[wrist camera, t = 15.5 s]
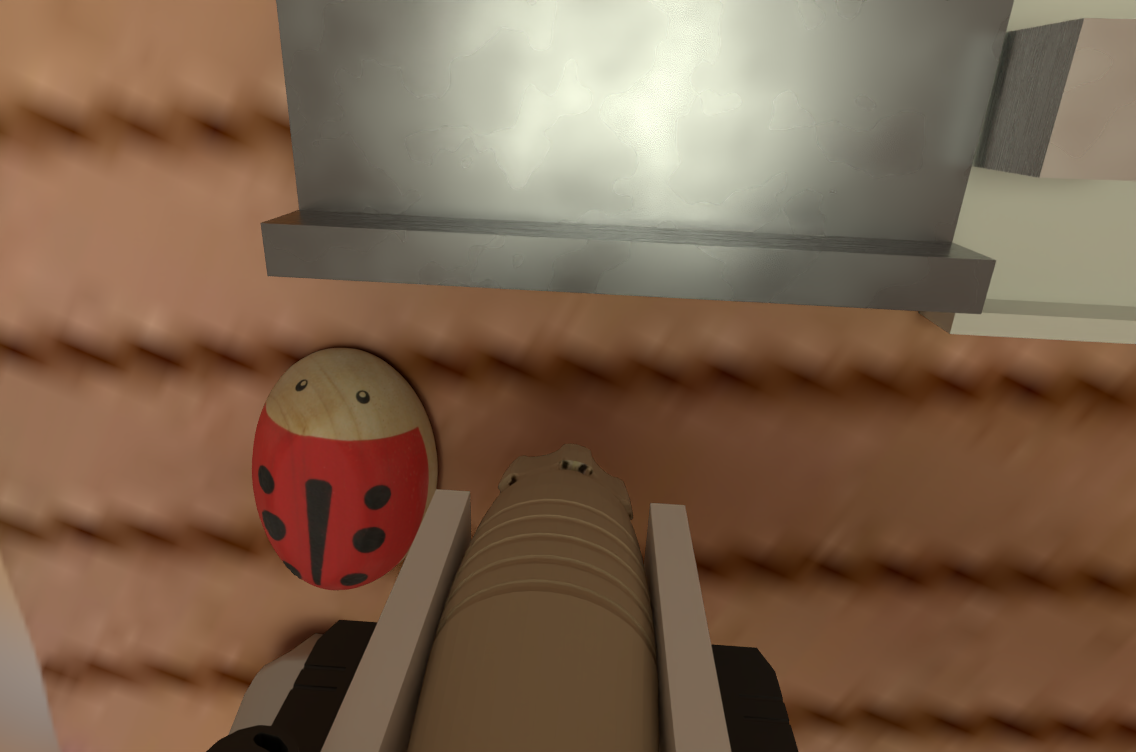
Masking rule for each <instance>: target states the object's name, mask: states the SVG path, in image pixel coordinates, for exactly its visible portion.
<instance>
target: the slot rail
mask: <svg viewBox="0 0 1136 752" xmlns="http://www.w3.org/2000/svg"><path fill="white" fill-rule="evenodd" d="M276 3H277V12H278V21H279V30H280V39H281V49H282V58H283V67H284V76H285V85H286V94H287V103H288V112H289V121H290V130H291V139H292V148H293V157H294V166H295V176H296V185H297V194H298V203H299V210H298V211H295V212H292V213H289V214H286V215H283V216H280V217H277V218H274V219H271V220H268V221H265V222H262V223H261V230H262V237H263V245H264V252H265V260H266V267H267V275H268V276H277V277H296V278H314V279H333V280H351V281H370V282H389V283H407V284H426V285H444V286H463V287H482V288H500V289H519V290H538V291H556V292H575V293H593V294H612V295H631V296H649V297H668V298H686V299H705V300H724V301H742V302H761V303H780V304H798V305H817V306H835V307H854V308H873V309H891V310H910V311H928V312H947V313H966V314H981V313H982V310H983V306H984V303H985V299H986V296H987V292H988V289H989V285H990V282H991V278H992V274H993V271H994V267H995V264H996V260H995V259H992V258H990V257H987V256H985V255H982V254H980V253H977V252H975V251H973V250H970V249H968V248H965V247H963V246H960V245H958V244H955V243H953V242H952V241H953V238H954V234H955V230H956V226H957V222H958V218H959V214H960V210H961V206H962V202H963V198H964V195H965V191H966V187H967V183H968V179H969V175H970V171H971V167H972V163H973V159H974V155H975V151H976V148H977V144H978V140H979V136H980V132H981V128H982V124H983V120H984V116H985V112H986V108H987V105H988V101H989V97H990V93H991V89H992V85H993V81H994V77H995V73H996V69H997V65H998V61H999V58H1000V54H1001V50H1002V46H1003V42H1004V38H1005V34H1006V30H1007V26H1008V22H1009V18H1010V15H1011V11H1012V7H1013V3H1014V0H276Z"/></svg>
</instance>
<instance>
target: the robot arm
mask: <svg viewBox="0 0 1136 752" xmlns="http://www.w3.org/2000/svg"><path fill="white" fill-rule="evenodd" d="M470 542H471V510H470V491H456V490H440V489H436V491H435V493H434V496H433V498H432V500H431V502H430V505H429V507H428V509H427V512H426V514H425V516H424V518H423V521H422V523H421V525H420V527H419V530H418V532H417V534H416V536H415V539H414V541H413V543H412V546H411V548H410V550H409V552H408V555H407V557H406V559H405V561H404V564H403V566H402V568H401V571H400V573H399V575H398V577H397V580H396V582H395V584H394V586H393V589H392V591H391V593H390V595H389V598H388V600H387V602H386V605H385V607H384V609H383V611H382V614H381V616H380V618H379V620H378V623H377V622H363V621H349V620H339V621H338V622H337V623H336V624H334V625H333V626H332V627H331V628H330V629H329V630H328V631H327V632H326V633H324V634H323V635H322V636H321V637H320V638H319V639H318V640H317V641H316V643H315V645H314V647H313V649H312V651H311V653H310V654H309V656H308V658H307V660H306V662H305V664H304V668H303V669H301V671H300V673H299V675H298V677H297V679H296V680H295V682H294V686H293V689H291V690H290V692H289V693H288V695H287V697H286V699H285V701H284V703H283V705H282V706H281V708H280V710H279V712H278V714H277V716H276V718H275V719H274V721H273V723H272V725H271V726H267V725H256V726H252V727H248V728H244V729H240V730H237V731H235V732H233V733H232V734H230V735H228V736H226V737H224V738H222V739H220V740H219V741H217V742H216V743H215V744H214V745H213V746H212V747H211V748H210V749H209V750H207V751H206V752H407V748H408V743H409V739H410V735H411V731H412V726H413V722H414V718H415V713H416V709H417V705H418V701H419V696H420V692H421V688H422V684H423V679H424V675H425V671H426V666H427V662H428V658H429V654H430V651H431V648H432V645H433V641H434V638H435V635H436V631H437V628H438V625H439V622H440V619H441V616H442V613H443V609H444V606H445V603H446V600H447V597H448V594H449V591H450V589H451V586H452V583H453V580H454V578H455V575H456V573H457V571H458V568H459V567H460V565H461V562H462V559H463V557H464V555H465V552H466V550H467V548H468V546H469V544H470ZM644 568H645V573H646V578H647V584H648V589H649V594H650V600H651V607H652V613H653V622H654V632H655V645H656V655H657V674H658V681H659V752H798V749H797V745H796V742H795V738H794V735H793V731H792V728H791V725H789V718H788V714H787V711H786V707H785V704H784V703H783V697H782V694H781V690H780V687H779V683H778V680H777V677H776V673H775V671H774V669H773V668H772V667H771V666H770V664H769V663H768V662H767V660H766V659H765V658H764V657H763V655H762V654H761V653H760V651H759V650H758V649H757V648H752V647H738V646H724V645H711V641H710V636H709V631H708V625H707V620H706V615H705V609H704V604H703V599H702V593H701V588H700V583H699V578H698V572H697V567H696V562H695V556H694V551H693V546H692V540H691V535H690V530H689V524H688V519H687V514H686V509H685V505H674V504H659V503H650V510H649V520H648V530H647V540H646V550H645V560H644Z"/></svg>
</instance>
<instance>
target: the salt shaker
mask: <svg viewBox="0 0 1136 752" xmlns="http://www.w3.org/2000/svg"><path fill="white" fill-rule="evenodd" d="M322 635H323V634H317V633H315V634H314V635H312V636H311V637H310V638H308V639H307V640H305V641H304V642H303V643H301V644H300V645H298V646H297V647H296V648H294V649H293V650H292V651H290V652H288V653H286V654H285V655H283V656H281V657H279V658H277V659H276V660H274V661H272V662H270V663H268V664H267V665H265V666H264V667H263V668H262V669H261V670H260V671H259V672H258V674H257V675H256V676H255V678H254V680H253V681H252V683H251V685H250V686H249V688H248V690H247V691H246V693H245V695H244V697H243V700H242V702H241V705H240V707H239V710H238V712H237V715H236V717H235V720H234V722H233V725H232V727H231V730H230V732H229V735H230V734H232V733H233V732H235V731H237V730H240V729H244V728H248V727H252V726H256V725H267V726H271V725H272V723H273V721H274V719H275V718H276V716H277V714H278V712H279V710H280V708H281V706H282V705H283V703H284V701H285V699H286V697H287V695H288V693H289V692H290V690H291V689H293V686H294V682H295V680H296V679H297V677H298V675H299V673H300V671H301V669H303V668H304V664H305V662H306V660H307V658H308V656H309V654H310V653H311V651H312V649H313V647H314V645H315V643H316V641H317V640H318V639H319V638H320V637H321V636H322Z"/></svg>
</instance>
